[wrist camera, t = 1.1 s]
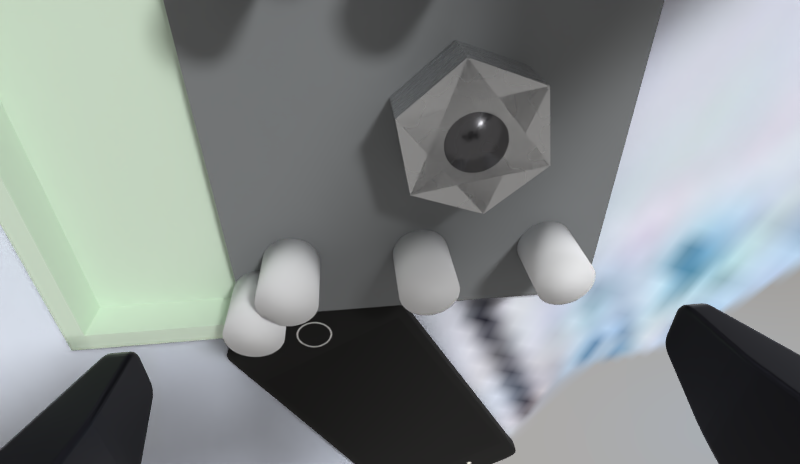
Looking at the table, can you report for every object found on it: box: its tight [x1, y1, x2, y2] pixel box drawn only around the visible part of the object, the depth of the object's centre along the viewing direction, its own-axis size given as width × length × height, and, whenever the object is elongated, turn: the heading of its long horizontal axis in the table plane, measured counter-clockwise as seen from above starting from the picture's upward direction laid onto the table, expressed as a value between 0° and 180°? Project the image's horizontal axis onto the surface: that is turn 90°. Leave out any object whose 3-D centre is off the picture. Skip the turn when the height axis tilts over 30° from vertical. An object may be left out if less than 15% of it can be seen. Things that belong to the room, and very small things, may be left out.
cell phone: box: [227, 305, 515, 464], centre depth 29 cm, size 9×18×1 cm, turn 29°
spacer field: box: [0, 0, 664, 357], centre depth 17 cm, size 23×18×3 cm
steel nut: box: [390, 40, 550, 214], centre depth 18 cm, size 5×6×2 cm
